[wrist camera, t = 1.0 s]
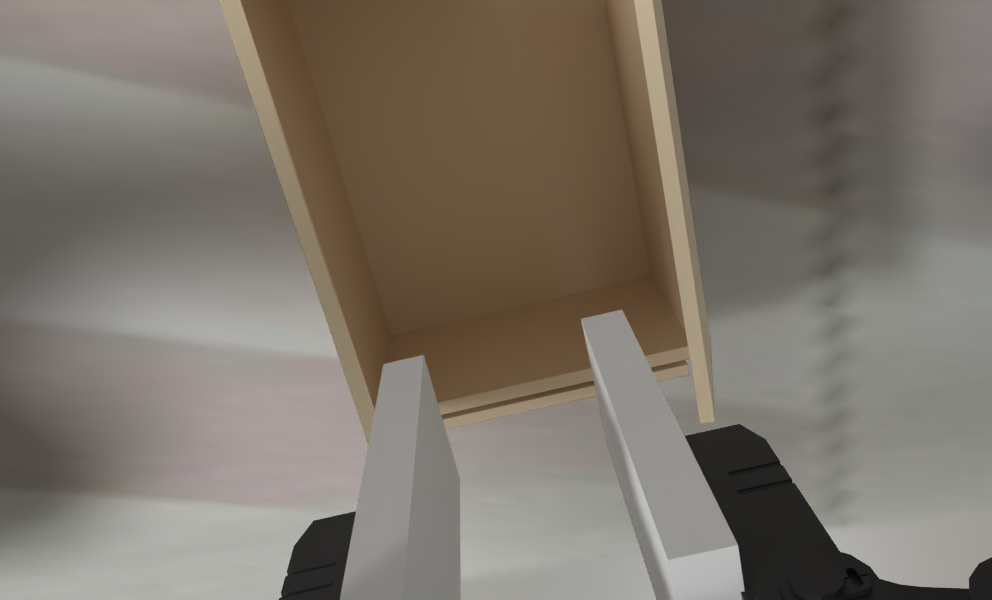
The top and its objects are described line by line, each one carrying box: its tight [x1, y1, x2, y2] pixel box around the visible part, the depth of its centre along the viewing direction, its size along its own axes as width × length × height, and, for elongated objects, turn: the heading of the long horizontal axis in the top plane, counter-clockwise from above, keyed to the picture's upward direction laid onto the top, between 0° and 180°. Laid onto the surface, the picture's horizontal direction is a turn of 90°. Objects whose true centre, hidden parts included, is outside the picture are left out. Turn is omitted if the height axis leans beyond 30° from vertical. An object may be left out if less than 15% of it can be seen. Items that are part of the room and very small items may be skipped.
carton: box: [238, 0, 690, 429], centre depth 36 cm, size 15×21×9 cm
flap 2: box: [634, 0, 715, 423], centre depth 28 cm, size 1×17×6 cm, turn 13°
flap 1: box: [219, 0, 374, 444], centre depth 29 cm, size 1×17×6 cm, turn 12°
